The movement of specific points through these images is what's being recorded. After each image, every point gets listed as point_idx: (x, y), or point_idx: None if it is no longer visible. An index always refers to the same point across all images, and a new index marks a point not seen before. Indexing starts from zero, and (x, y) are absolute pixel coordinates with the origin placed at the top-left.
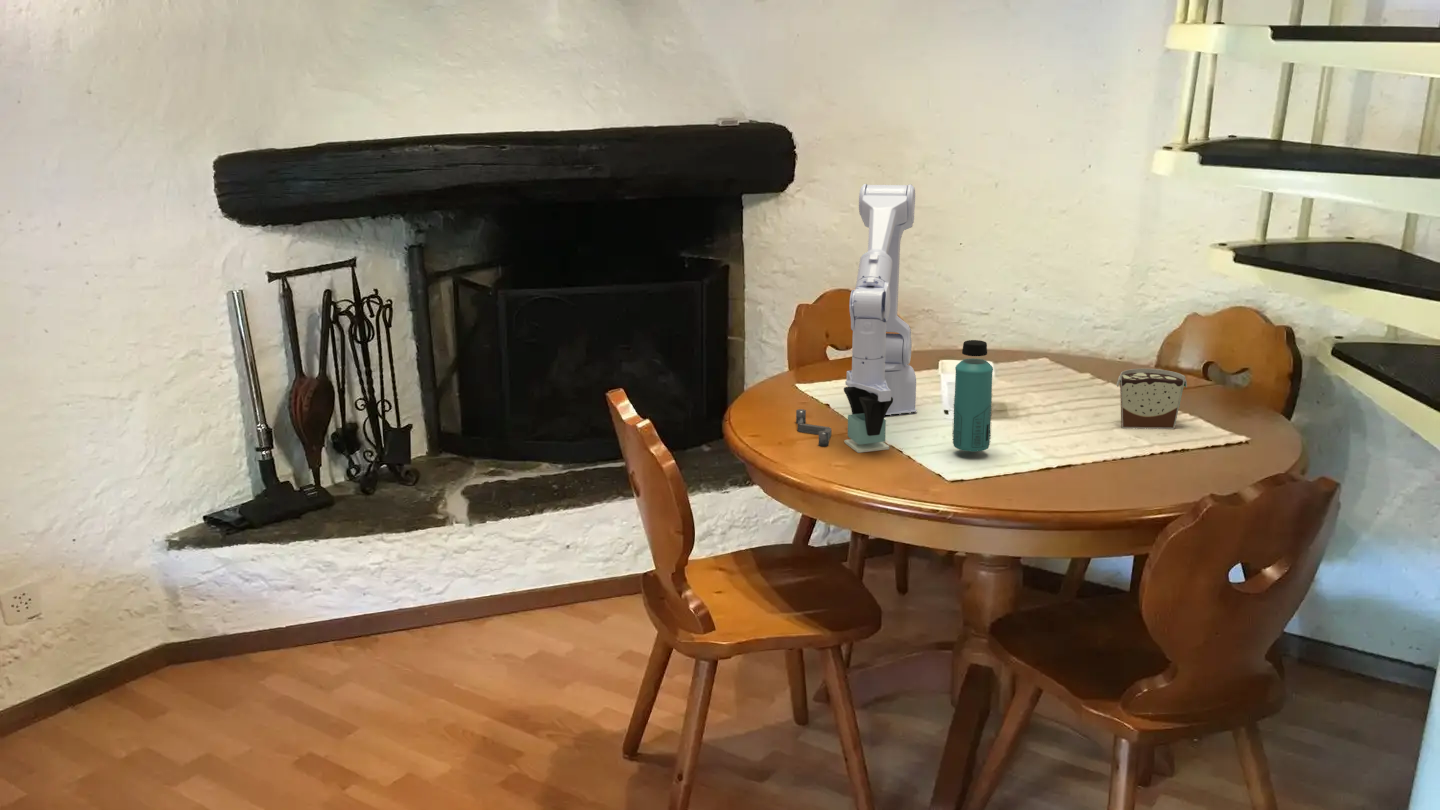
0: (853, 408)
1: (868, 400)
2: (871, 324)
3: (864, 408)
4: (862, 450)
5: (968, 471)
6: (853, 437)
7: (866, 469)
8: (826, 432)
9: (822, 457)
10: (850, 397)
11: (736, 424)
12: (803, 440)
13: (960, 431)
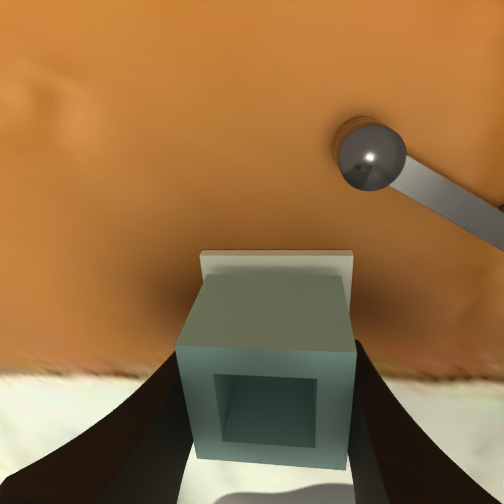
0: (362, 414)
1: None
2: None
3: (101, 446)
4: (202, 272)
5: (3, 437)
6: (268, 282)
7: (4, 205)
8: (360, 174)
9: (173, 68)
10: (385, 486)
11: None
12: (496, 56)
13: None
